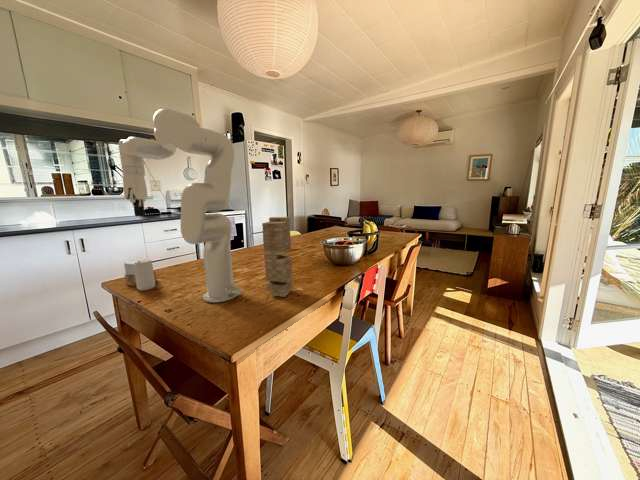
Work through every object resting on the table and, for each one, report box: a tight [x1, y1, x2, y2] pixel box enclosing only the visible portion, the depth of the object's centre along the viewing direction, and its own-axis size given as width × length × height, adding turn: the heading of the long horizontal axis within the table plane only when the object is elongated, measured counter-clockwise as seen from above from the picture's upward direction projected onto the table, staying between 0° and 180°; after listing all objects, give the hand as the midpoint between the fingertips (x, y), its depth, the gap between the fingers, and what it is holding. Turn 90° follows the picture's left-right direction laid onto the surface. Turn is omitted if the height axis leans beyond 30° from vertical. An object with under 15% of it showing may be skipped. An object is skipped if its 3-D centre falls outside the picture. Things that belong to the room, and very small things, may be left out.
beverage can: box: [134, 258, 156, 292], centre depth 105 cm, size 6×6×12 cm
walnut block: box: [124, 269, 157, 287], centre depth 113 cm, size 8×8×5 cm
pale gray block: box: [123, 258, 144, 275], centre depth 112 cm, size 7×7×5 cm
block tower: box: [261, 216, 294, 298], centre depth 96 cm, size 8×8×29 cm
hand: (140, 215), depth 108 cm, fingers closed
